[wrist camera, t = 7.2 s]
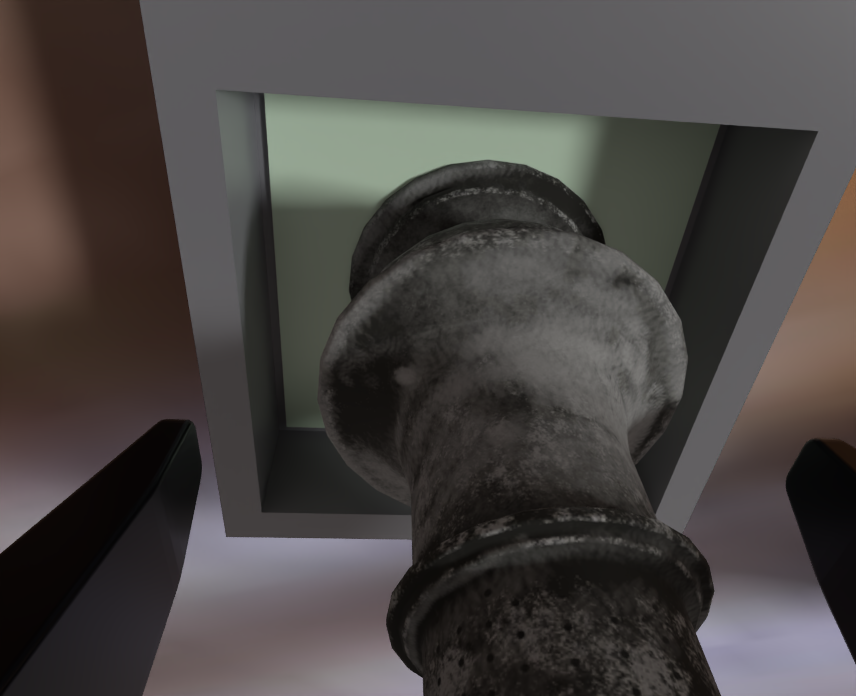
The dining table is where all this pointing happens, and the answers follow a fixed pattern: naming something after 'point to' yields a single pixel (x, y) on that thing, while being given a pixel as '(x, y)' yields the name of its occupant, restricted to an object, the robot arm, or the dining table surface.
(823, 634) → the dining table surface
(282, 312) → the socket strip
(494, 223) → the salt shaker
